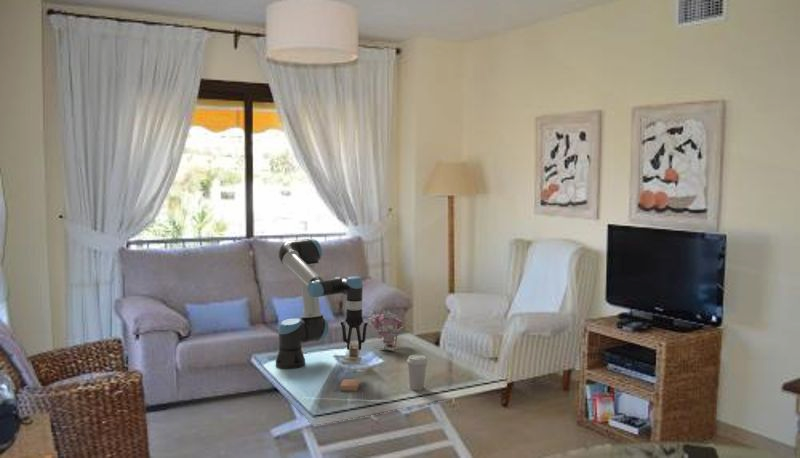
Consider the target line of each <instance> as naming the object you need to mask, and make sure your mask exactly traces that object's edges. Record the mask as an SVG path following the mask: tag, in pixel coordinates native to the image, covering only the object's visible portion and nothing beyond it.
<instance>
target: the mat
mask: <svg viewBox="0 0 800 458" xmlns="http://www.w3.org/2000/svg"><path fill="white" fill-rule="evenodd" d="M341 383H342V381H338V382H337V383H336V386H335V387H334V389H333V392H342V393H343V392H344V393H346V392H347V393H364V392H365V391H366V387H367V386H368V385H367V384H368V382H360V386H359V388H358V390H357V391H348V390H340V385H341Z"/></svg>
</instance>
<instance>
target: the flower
mask: <svg viewBox="0 0 800 458" xmlns="http://www.w3.org/2000/svg"><path fill="white" fill-rule="evenodd" d="M367 319H368V321H369V322H368V324H369V325H371V326H373V327H374V329H375V333H376V334H377V338H378V339H382V343H383V344H384V345H385V344H386V345H387V346H382V347H380V348H379V351H381V350H382V349H386V350H387V351H392V352H394V353H397V352H396V348H397V343H398V337H399V335H398V332H402V331H404V332H407V333H409V331H408V330H407V328H405V326H403V325H404V321H402V319H399V318H398V315H397V314H395V313H393V312H392V311H391V312H390V309H388V310H384V309H383V311H382V313H381V314H377V315H375V314H373V313H372V314H370V317H368V318H367ZM383 326H384V328H385V330H384V328H383ZM391 332H394V333H391ZM394 342H395V343H394ZM390 345H391V346H392V348H391V347H389V346H390Z"/></svg>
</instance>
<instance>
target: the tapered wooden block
mask: <svg viewBox="0 0 800 458" xmlns="http://www.w3.org/2000/svg"><path fill="white" fill-rule="evenodd" d="M357 343H358V342H352V346H351V348H350V357H349V356H344V358H343V359H342V360H341V364H343V365H360V363H361V361H362V356H359V357H357Z"/></svg>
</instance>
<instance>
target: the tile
mask: <svg viewBox="0 0 800 458" xmlns="http://www.w3.org/2000/svg"><path fill="white" fill-rule="evenodd" d="M341 382H342V383H341V385H340V390H348V391H357V390H358V388H359V386H360V383H361V380H360V379H354V378H353V379H350V378H349V379H346V378H344V379H342V381H341Z"/></svg>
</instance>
